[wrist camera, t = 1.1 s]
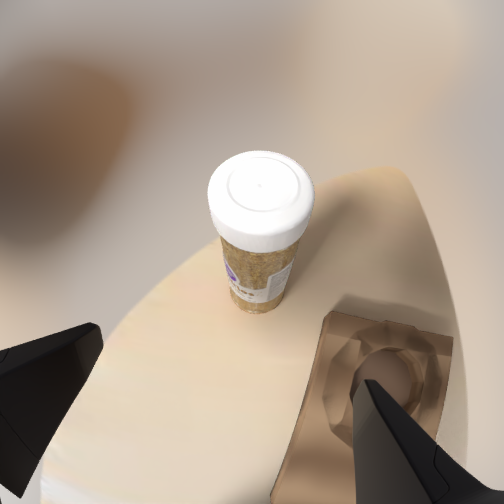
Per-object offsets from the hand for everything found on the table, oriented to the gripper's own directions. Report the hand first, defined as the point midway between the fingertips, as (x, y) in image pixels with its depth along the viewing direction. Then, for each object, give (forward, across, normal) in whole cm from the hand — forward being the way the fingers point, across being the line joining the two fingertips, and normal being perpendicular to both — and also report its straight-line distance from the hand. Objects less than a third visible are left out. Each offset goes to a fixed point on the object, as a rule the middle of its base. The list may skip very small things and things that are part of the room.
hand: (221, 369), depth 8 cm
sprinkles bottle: (+15, 0, +4) cm, 15 cm away
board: (+7, -11, +12) cm, 18 cm away
